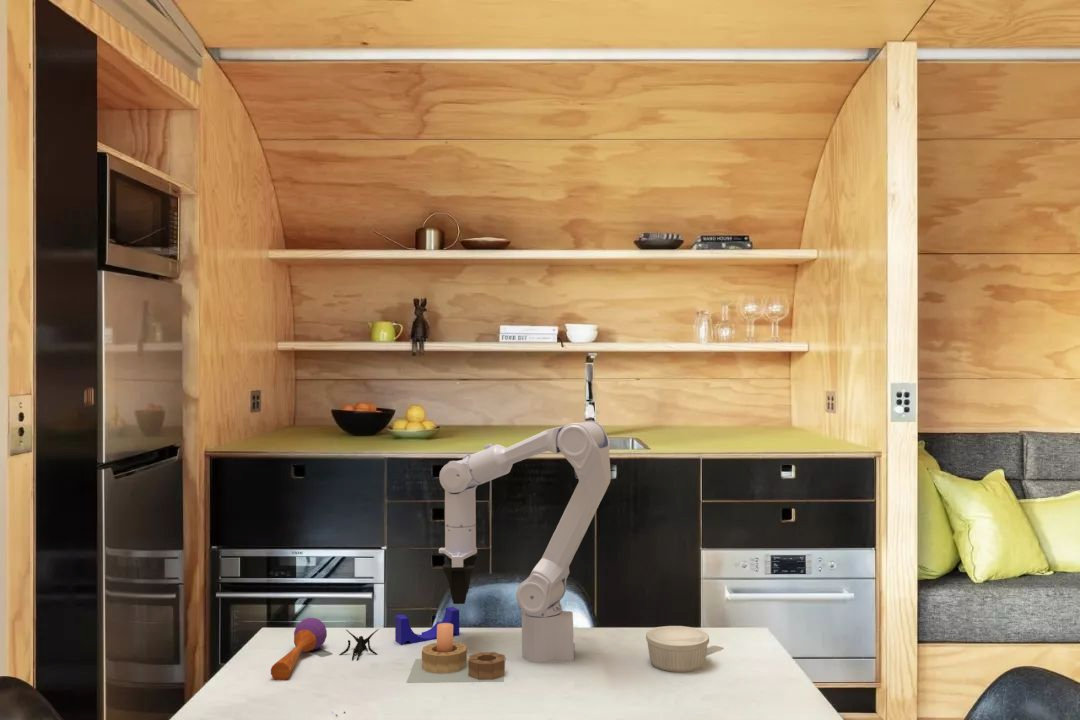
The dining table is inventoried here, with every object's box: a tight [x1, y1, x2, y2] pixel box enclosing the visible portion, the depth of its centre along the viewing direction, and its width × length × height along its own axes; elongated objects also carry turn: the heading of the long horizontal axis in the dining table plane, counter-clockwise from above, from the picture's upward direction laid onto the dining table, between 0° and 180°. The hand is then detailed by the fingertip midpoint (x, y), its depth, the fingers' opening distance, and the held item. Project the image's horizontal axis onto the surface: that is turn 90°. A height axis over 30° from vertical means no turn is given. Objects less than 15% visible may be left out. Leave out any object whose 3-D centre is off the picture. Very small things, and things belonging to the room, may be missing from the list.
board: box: [406, 657, 506, 684], centre depth 150 cm, size 16×12×1 cm
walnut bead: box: [468, 651, 506, 680], centre depth 148 cm, size 6×6×3 cm
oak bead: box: [421, 641, 468, 674], centre depth 152 cm, size 8×8×3 cm
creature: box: [338, 628, 380, 662], centre depth 159 cm, size 8×5×8 cm
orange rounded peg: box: [436, 623, 454, 653], centre depth 152 cm, size 3×3×7 cm
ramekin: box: [645, 625, 710, 673], centre depth 156 cm, size 11×11×5 cm
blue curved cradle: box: [394, 606, 460, 646], centre depth 169 cm, size 12×4×6 cm, turn 121°
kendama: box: [270, 617, 328, 681], centre depth 158 cm, size 6×6×20 cm
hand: (460, 598), depth 163 cm, fingers open, 7 cm apart
